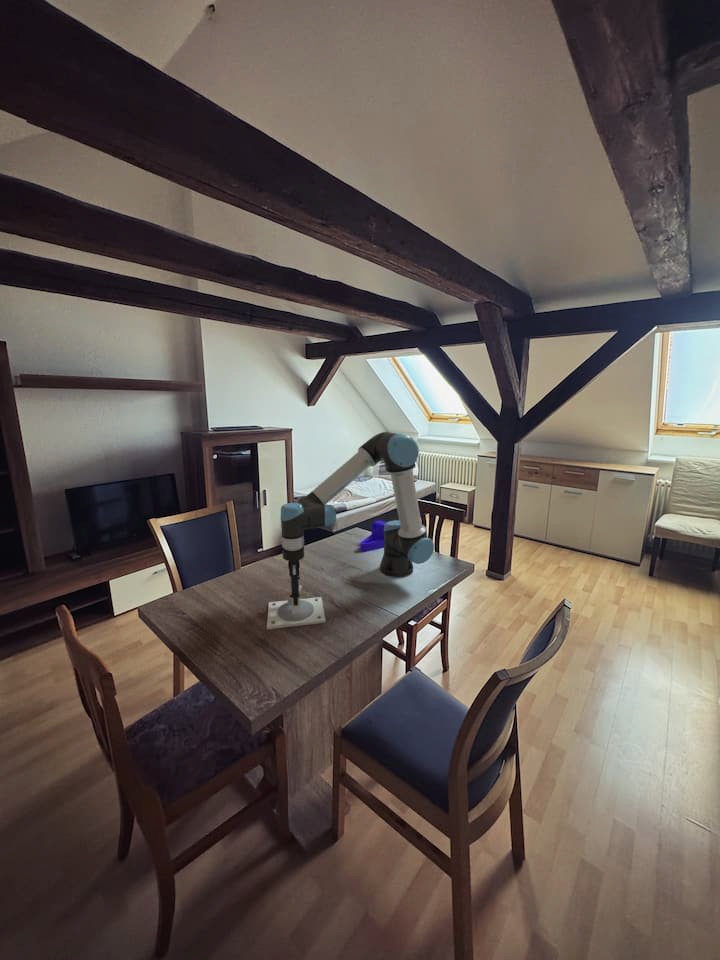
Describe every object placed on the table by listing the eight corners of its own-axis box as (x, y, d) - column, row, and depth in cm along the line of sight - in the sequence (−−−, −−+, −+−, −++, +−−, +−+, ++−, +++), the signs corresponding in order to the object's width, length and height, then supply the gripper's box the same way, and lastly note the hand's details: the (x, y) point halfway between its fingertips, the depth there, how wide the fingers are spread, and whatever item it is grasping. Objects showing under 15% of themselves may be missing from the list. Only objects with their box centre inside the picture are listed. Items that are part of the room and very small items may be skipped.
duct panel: (321, 599, 149) (321, 595, 148) (325, 622, 133) (325, 618, 133) (269, 604, 145) (268, 600, 145) (267, 629, 130) (266, 625, 129)
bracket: (377, 539, 211) (377, 519, 208) (392, 544, 203) (392, 524, 201) (353, 548, 198) (353, 527, 196) (369, 554, 191) (369, 532, 188)
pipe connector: (303, 615, 133) (302, 589, 130) (277, 612, 135) (275, 586, 132) (313, 600, 142) (312, 575, 140) (288, 597, 144) (286, 573, 142)
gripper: (282, 536, 144) (285, 590, 148) (281, 561, 122) (285, 623, 127) (302, 535, 145) (304, 588, 150) (305, 559, 123) (307, 620, 128)
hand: (295, 604), depth 138 cm, fingers closed on pipe connector, 10 cm apart
